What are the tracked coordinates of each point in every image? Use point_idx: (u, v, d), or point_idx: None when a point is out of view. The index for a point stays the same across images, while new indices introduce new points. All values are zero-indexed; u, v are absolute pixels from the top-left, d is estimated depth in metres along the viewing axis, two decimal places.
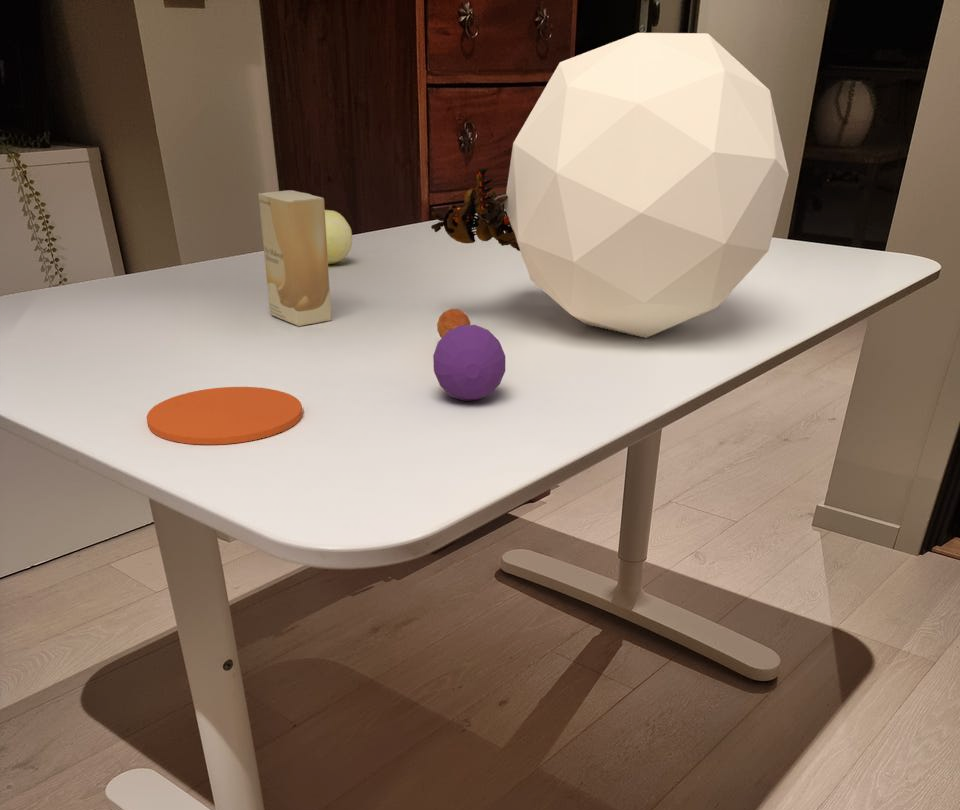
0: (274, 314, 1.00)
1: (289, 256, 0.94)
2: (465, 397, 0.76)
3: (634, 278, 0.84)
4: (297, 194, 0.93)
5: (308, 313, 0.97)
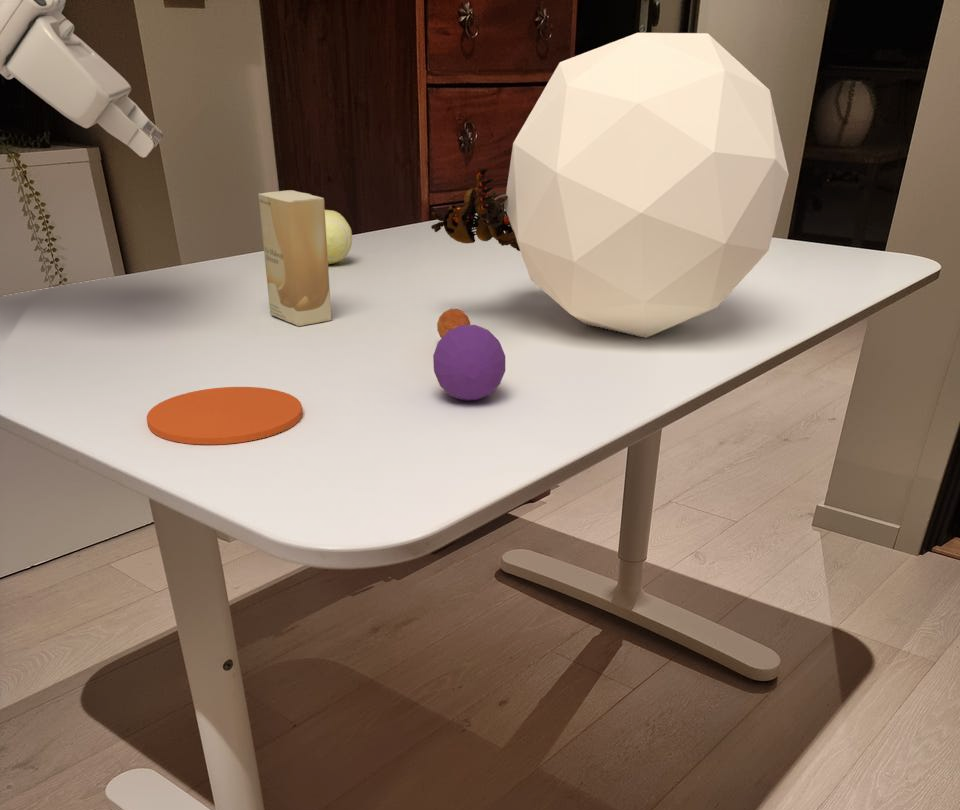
0: (274, 314, 1.00)
1: (289, 256, 0.94)
2: (465, 397, 0.76)
3: (634, 278, 0.84)
4: (297, 194, 0.93)
5: (308, 313, 0.97)
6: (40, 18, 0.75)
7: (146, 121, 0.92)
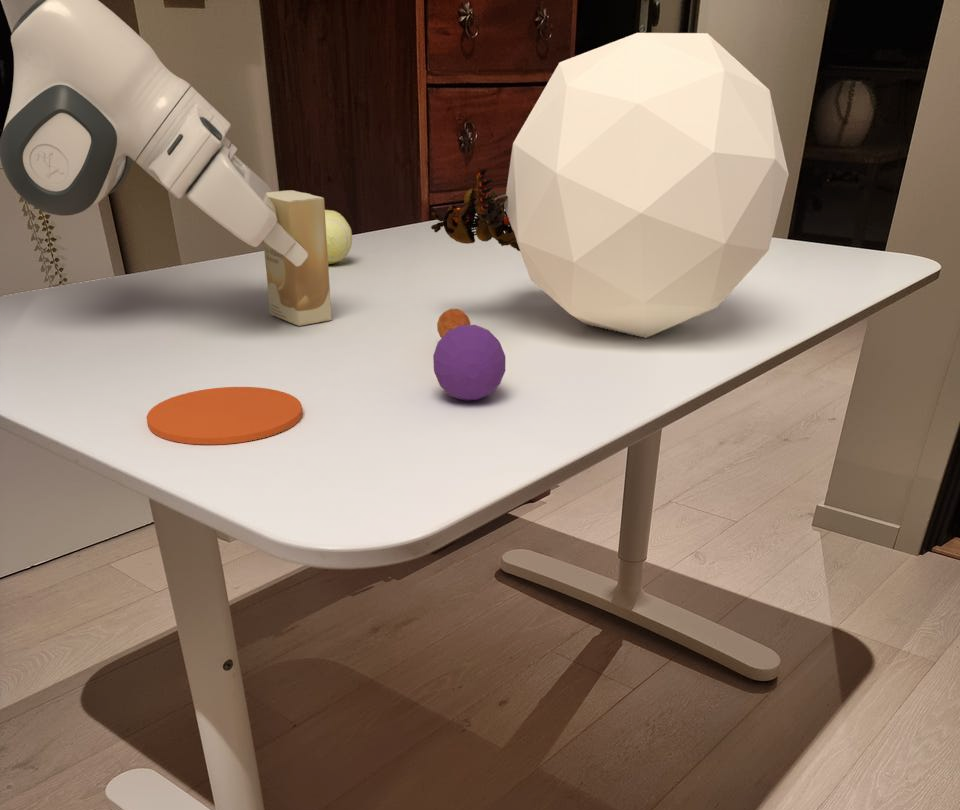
0: (274, 314, 1.00)
1: None
2: (465, 397, 0.76)
3: (634, 278, 0.84)
4: (297, 194, 0.93)
5: (308, 313, 0.97)
6: (221, 153, 0.83)
7: None
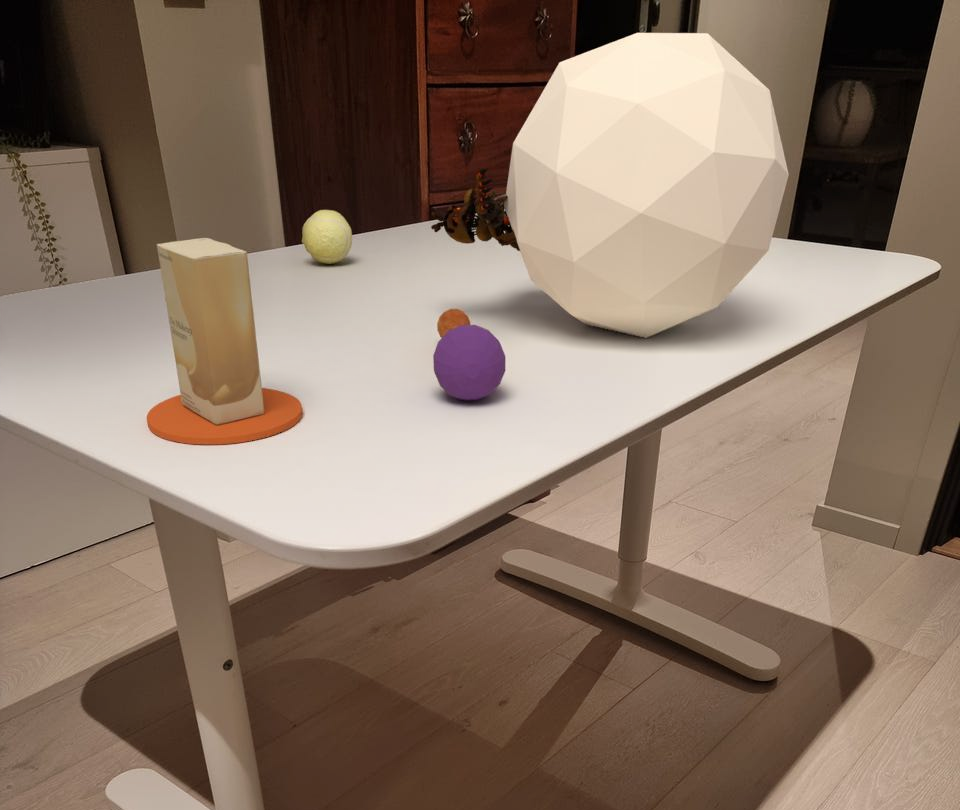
0: (187, 405, 0.73)
1: (200, 332, 0.67)
2: (465, 397, 0.76)
3: (634, 278, 0.84)
4: (210, 245, 0.67)
5: (229, 407, 0.70)
6: None
7: None
